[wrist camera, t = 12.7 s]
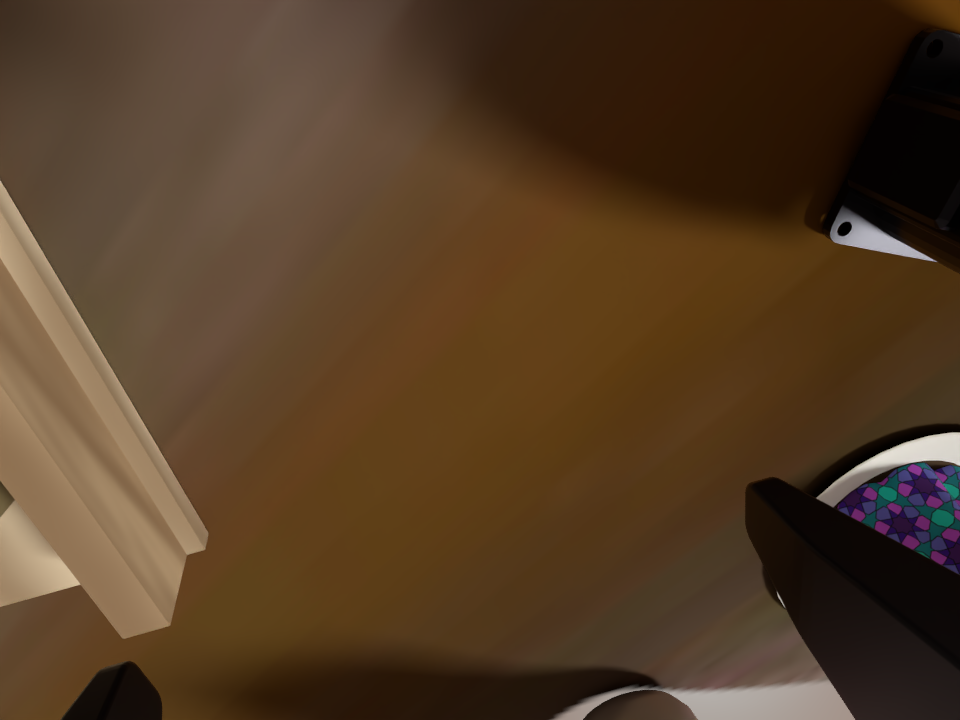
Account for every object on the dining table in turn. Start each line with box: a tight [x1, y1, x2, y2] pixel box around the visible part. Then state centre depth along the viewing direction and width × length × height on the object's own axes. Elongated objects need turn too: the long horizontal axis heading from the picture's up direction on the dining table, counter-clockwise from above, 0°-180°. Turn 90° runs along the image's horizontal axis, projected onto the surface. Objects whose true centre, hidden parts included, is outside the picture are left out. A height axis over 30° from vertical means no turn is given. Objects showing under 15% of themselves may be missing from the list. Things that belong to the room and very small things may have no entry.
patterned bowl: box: [777, 432, 960, 607], centre depth 30 cm, size 12×12×5 cm
